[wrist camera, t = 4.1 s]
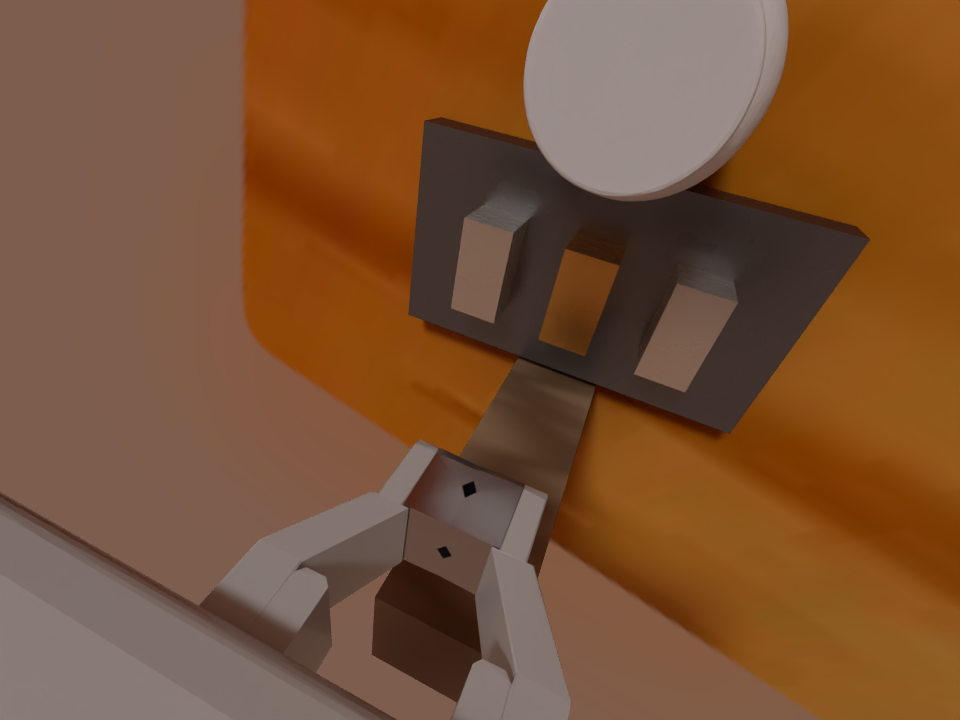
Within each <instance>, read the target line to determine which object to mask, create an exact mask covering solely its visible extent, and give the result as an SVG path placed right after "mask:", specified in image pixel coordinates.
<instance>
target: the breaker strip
mask: <svg viewBox="0 0 960 720" xmlns="http://www.w3.org/2000/svg"><path fill="white" fill-rule="evenodd" d="M869 241H870V239H869V238H868V237H867V236H866V235H865V234H864V233H863V232H862V231H861V230H860V229H859V228H858V227H856V226H852V225H849V224H845V223H841V222H837V221H833V220H830V219H826V218H822V217H818V216H814V215H811V214H807V213H803V212H799V211H795V210H792V209H788V208H784V207H780V206H776V205H773V204H769V203H765V202H761V201H757V200H754V199H750V198H746V197H742V196H738V195H735V194H731V193H727V192H723V191H719V190H716V189H712V188H708V187H704V186H700V185H697V184H696V185H694V186H692V187H690V188H688V189H686V190H683V191H681V192H679V193H676V194H673V195H671V196H667V197H663V198H659V199H654V200H647V201H619V200H613V199H609V198H605V197H601V196H598V195H595V194H593V193H591V192H588V191H586V190H583V189H581V188H579V187H577V186H575V185H573V184H572V183H570V182H569V181H567V180H566V179H565V178H563V177H562V176H561V175H560V174H559V173H558V172H557V171H556V170H555V169H554V168H553V167H552V166H551V165H550V164H549V163H548V162H547V160H546V159H545V157H544V156H543V154H542V153H541V151H540V149H539V148H538V146H537V144H536V142H533V141H529V140H525V139H522V138H518V137H514V136H510V135H506V134H503V133H499V132H495V131H491V130H487V129H484V128H480V127H476V126H472V125H468V124H465V123H461V122H457V121H453V120H449V119H445V118H442V117H440V118H435V119H430V120H425V121H424V132H423V145H422V157H421V169H420V181H419V193H418V205H417V217H416V229H415V241H414V254H413V266H412V278H411V290H410V302H409V314H408V315H411V316H413V317H416V318H419V319H422V320H424V321H427V322H430V323H432V324H435V325H438V326H440V327H443V328H446V329H448V330H451V331H454V332H457V333H459V334H462V335H465V336H467V337H470V338H473V339H475V340H478V341H481V342H484V343H486V344H489V345H492V346H494V347H497V348H500V349H502V350H505V351H508V352H510V353H513V354H516V355H519V356H521V357H524V358H527V359H529V360H532V361H535V362H537V363H540V364H543V365H545V366H548V367H551V368H554V369H556V370H559V371H562V372H564V373H567V374H570V375H572V376H575V377H578V378H580V379H583V380H586V381H589V382H591V383H594V384H597V385H599V386H602V387H605V388H607V389H610V390H613V391H615V392H618V393H621V394H624V395H626V396H629V397H632V398H634V399H637V400H640V401H642V402H645V403H648V404H650V405H653V406H656V407H659V408H661V409H664V410H667V411H669V412H672V413H675V414H677V415H680V416H683V417H685V418H688V419H691V420H694V421H696V422H699V423H702V424H704V425H707V426H710V427H712V428H715V429H718V430H720V431H723V432H726V433H729V434H730V433H731V431H732V430H733V428H734V427H735V426H736V424H737V423H738V422H739V420H740V419H741V417H742V416H743V415H744V413H745V412H746V411H747V409H748V408H749V406H750V405H751V404H752V402H753V401H754V399H755V398H756V397H757V395H758V394H759V393H760V391H761V390H762V388H763V387H764V386H765V384H766V383H767V381H768V380H769V379H770V377H771V376H772V375H773V373H774V372H775V370H776V369H777V368H778V366H779V365H780V364H781V362H782V361H783V359H784V358H785V357H786V355H787V354H788V352H789V351H790V350H791V348H792V347H793V346H794V344H795V343H796V341H797V340H798V339H799V337H800V336H801V334H802V333H803V332H804V330H805V329H806V328H807V326H808V325H809V323H810V322H811V321H812V319H813V318H814V317H815V315H816V314H817V312H818V311H819V310H820V308H821V307H822V305H823V304H824V303H825V301H826V300H827V299H828V297H829V296H830V294H831V293H832V292H833V290H834V289H835V287H836V286H837V285H838V283H839V282H840V281H841V279H842V278H843V276H844V275H845V274H846V272H847V271H848V270H849V268H850V267H851V265H852V264H853V263H854V261H855V260H856V258H857V257H858V256H859V254H860V253H861V252H862V250H863V249H864V247H865V246H866V245H867V243H868V242H869Z"/></svg>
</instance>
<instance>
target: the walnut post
mask: <svg viewBox="0 0 960 720" xmlns="http://www.w3.org/2000/svg"><path fill="white" fill-rule="evenodd" d="M595 387H596V384H594V383H591V382H589V381H586V380H583V379H580V378H578V377H575V376H572V375H570V374H567V373H564V372H562V371H559V370H556V369H554V368H551V367H548V366H545V365H543V364H540V363H537V362H535V361H532V360H529V359H527V358H524V357H521V356H519V358H518V359H517V361H516V363H515V364H514V366H513V368H512V369H511V371H510V373H509V374H508V376H507V378H506V379H505V381H504V383H503V384H502V386H501V388H500V389H499V391H498V393H497V394H496V396H495V398H494V399H493V401H492V403H491V404H490V406H489V408H488V409H487V411H486V413H485V414H484V416H483V418H482V419H481V421H480V423H479V424H478V426H477V428H476V429H475V431H474V433H473V434H472V436H471V438H470V439H469V441H468V443H467V444H466V446H465V448H464V449H463V451H462V453H461V454H460V456H459V457H461V458H463V459H465V460H467V461H469V462H471V463H474V464H476V465H478V466H480V467H485V468H487V469H490V470H492V471H494V472H497V473H499V474H502V475H504V476H507V477H509V478H511V479H514V480H516V481H519V482H521V483H524V484H525V485H527V486H530V487H532V488H534V489H537V490H539V491H541V492H544V493H546V494H548V499H547V502H546V505H545V508H544V511H543V514H542V517H541V521H540V524H539V527H538V530H537V533H536V536H535V539H534V542H533V545H532V549H531V552H530V555H529V558H528V561H527V563H529V564H531V565H533V566H534V568H535V572H536V576H537V579H538V576H539V572H540V569H541V565H542V562H543V559H544V556H545V552H546V549H547V546H548V542H549V539H550V536H551V533H552V529H553V526H554V523H555V519H556V516H557V513H558V509H559V506H560V503H561V499H562V496H563V493H564V490H565V486H566V483H567V480H568V476H569V473H570V470H571V466H572V463H573V460H574V456H575V453H576V450H577V447H578V443H579V440H580V437H581V433H582V430H583V427H584V423H585V420H586V417H587V413H588V410H589V407H590V404H591V400H592V397H593V394H594V390H595ZM525 485H524V486H525ZM523 489H524V488H523ZM522 492H523V491H522ZM475 596H476V595H475V594H473V593H471V592H469V591H467V590H465V589H463V588H462V587H460V586H458V585H456V584H454V583H452V582H450V581H448V580H446V579H444V578H442V577H441V576H439V575H436V574H434V573H432V572H430V571H428V570H426V569H423V568H421V567H419V566H417V565H415V564H412V563H410V562H408V561H406V560H404V559H402V562H401V563H399V564H398V565H396V566H395V567H393V568H392V570H391V571H390V573H389V575H388V576H387V578H386V580H385V581H384V583H383V585H382V586H381V588H380V590H379V591H378V593H377V595H376V596H375V606H374V625H373V643H372V655H374V656H375V657H377V658H379V659H381V660H382V661H384V662H386V663H388V664H390V665H391V666H393V667H395V668H397V669H398V670H400V671H402V672H404V673H406V674H408V675H409V676H411V677H413V678H415V679H416V680H418V681H420V682H422V683H423V684H425V685H427V686H429V687H430V688H432V689H434V690H436V691H438V692H439V693H441V694H443V695H445V696H447V697H449V698H450V699H452V700H454V701H456V702H457V701H458V699H459V696H460V694H461V691H462V689H463V686H464V684H465V682H466V679H467V677H468V674H469V672H470V670H471V667H472V665H473V663H475V662H477V661H479V660H481V659H482V654H481V645H480V636H479V628H478V619H477V610H476V601H475Z"/></svg>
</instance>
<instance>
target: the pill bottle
mask: <svg viewBox="0 0 960 720" xmlns="http://www.w3.org/2000/svg"><path fill="white" fill-rule="evenodd" d="M787 43H788V13H787V5H786V0H548V1H547V3H546V5H545V7H544V8H543V10H542V12H541V14H540V16H539V19H538V21H537V23H536V26H535V28H534V31H533V34H532V36H531V39H530V43H529V47H528V51H527V56H526V62H525V70H524V103H525V109H526V114H527V119H528V123H529V127H530V129H531V132H532V135H533V137H534V140H535V142H536V144H537V146H538V148H539V149H540V151H541V153H542V154H543V156H544V157H545V159H546V160H547V162H548V163H549V164H550V165H551V166H552V167H553V168H554V169H555V170H556V171H557V172H558V173H559V174H560V175H561V176H562V177H563V178H565V179H566V180H567V181H569V182H570V183H572V184H573V185H575V186H577V187H579V188H581V189H583V190H586V191H588V192H591V193H593V194H595V195H598V196H601V197H605V198H609V199H613V200H619V201H647V200H654V199H659V198H663V197H667V196H671V195H673V194H676V193H679V192H681V191H683V190H686V189H688V188H690V187H692V186H694V185H696V184H698V183H699V182H701V181H702V180H704V179H706V178H707V177H709V176H710V175H712V174H713V173H714V172H716V171H717V170H718V169H719V168H721V167H722V166H723V165H724V164H725V163H726V162H727V161H728V160H729V159H731V157H732V156H733V155H734V154H735V153H736V152H737V151H738V150H739V149H740V148H741V147H742V146H743V144H744V143H745V142H746V140H747V139H748V138H749V137H750V135H751V134H752V133H753V131H754V130H755V129H756V127H757V126H758V124H759V123H760V122H761V120H762V118H763V116H764V115H765V113H766V111H767V109H768V107H769V105H770V103H771V101H772V99H773V97H774V94H775V92H776V89H777V87H778V84H779V81H780V78H781V75H782V71H783V68H784V63H785V58H786V53H787Z"/></svg>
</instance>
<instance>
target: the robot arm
mask: <svg viewBox="0 0 960 720" xmlns="http://www.w3.org/2000/svg"><path fill="white" fill-rule="evenodd" d="M524 485H525V484H524V483H521V482H519V481H516V480H514V479H511V478H509V477H507V476H504V475H502V474H499V473H497V472H494V471H492V470H490V469H487V468H485V467H480V466H478V465H476V464H474V463H471V462H469V461H467V460H465V459H463V458H461V457H458V456H456V455H454V454H452V453H450V452H447V451H445V450H443V449H441V448H438V447H436V446H434V445H432V444H429V443H427V442H425V441H423V440H419V441H418V442H416V443H415V444H414V445H413V447H412V448H411V449H410V451H409V452H408V454H407V455H406V456H405V458H404V459H403V460H402V462H401V463H400V465H399V466H398V467H397V469H396V470H395V471H394V473H393V474H392V476H391V477H390V478H389V480H388V481H387V483H386V484H385V485H384V486H383V488H382V489H381V491H380V492H379V493H376V492H373V491H371V492H369V493H366V494H364V495H362V496H359V497H357V498H355V499H353V500H350V501H348V502H345V503H343V504H341V505H338V506H336V507H334V508H331V509H329V510H327V511H325V512H322V513H320V514H318V515H315V516H313V517H311V518H308V519H306V520H304V521H301V522H299V523H297V524H294V525H292V526H290V527H287V528H285V529H283V530H280V531H279V532H276V533H274V534H271V535H269V536H267V537H264V538H262V539H260V540H258V542H257V543H256V544H255V545H254V546H253V547H252V548H251V549H250V551H248V553H247V554H246V555H245V556H244V557H243V558H242V559H241V560H240V561H239V562H238V563H237V565H236V566H235V567H234V568H233V569H232V570H231V571H230V572H229V573H228V574H227V576H226V577H225V578H224V579H223V580H222V581H221V582H220V583H219V584H218V585H217V586H216V587H215V588H214V590H213V591H212V592H211V593H210V594H209V595H208V596H207V597H206V598H205V599H204V601H203V602H202V603H201V604H200V605H199V606H198V605H196V604H195V603H193V602H191V601H189V600H188V599H186V598H184V597H182V596H181V595H179V594H177V593H175V592H174V591H172V590H170V589H168V588H167V587H165V586H163V585H162V584H160V583H158V582H156V581H155V580H153V579H151V578H149V577H148V576H146V575H144V574H142V573H141V572H139V571H137V570H135V569H134V568H132V567H130V566H128V565H127V564H125V563H123V562H122V561H120V560H118V559H116V558H114V557H113V556H111V555H109V554H108V553H106V552H104V551H102V550H100V549H99V548H97V547H95V546H93V545H92V544H90V543H88V542H87V541H85V540H83V539H81V538H80V537H78V536H76V535H75V534H73V533H71V532H69V531H68V530H66V529H64V528H62V527H60V526H59V525H57V524H55V523H54V522H52V521H50V520H48V519H47V518H45V517H43V516H41V515H40V514H38V513H36V512H34V511H33V510H31V509H29V508H28V507H26V506H24V505H22V504H21V503H19V502H17V501H15V500H13V499H12V498H10V497H8V496H7V495H5V494H3V493H1V492H0V720H397V719H395V718H393V717H391V716H389V715H388V714H386V713H384V712H383V711H381V710H379V709H377V708H376V707H374V706H372V705H370V704H369V703H367V702H365V701H364V700H362V699H360V698H358V697H357V696H355V695H353V694H351V693H350V692H348V691H346V690H344V689H343V688H341V687H339V686H337V685H336V684H334V683H332V682H330V681H329V680H327V679H325V678H323V677H322V676H320V675H318V674H317V673H316V672H317V670H318V668H319V666H320V665H321V663H322V662H323V660H324V658H325V656H326V655H327V653H328V651H329V650H330V648H331V646H332V639H331V622H330V608H331V607H333V606H334V605H336V604H337V603H339V602H340V601H342V600H343V599H345V598H347V597H348V596H350V595H351V594H353V593H354V592H355V591H357V590H359V589H360V588H362V587H363V586H365V585H367V584H368V583H369V582H371V581H373V580H374V579H376V578H377V577H379V576H380V575H382V574H384V573H385V572H387V571H388V570H390V569H391V568H393V567H395V566H396V565H398V564H399V563H401V562H402V559H404V560H406V561H408V562H410V563H412V564H415V565H417V566H419V567H421V568H423V569H426V570H428V571H430V572H432V573H434V574H436V575H439V576H441V577H442V578H444V579H446V580H448V581H450V582H452V583H454V584H456V585H458V586H460V587H462V588H463V589H465V590H467V591H469V592H471V593H473V594H475V595H476V596H475V601H476V610H477V619H478V628H479V636H480V645H481V654H482V659H481V660H479V661H477V662H475V663H473V665H472V667H471V670H470V672H469V674H468V677H467V679H466V682H465V684H464V686H463V689H462V691H461V694H460V696H459V699H458V701H457V703H456V706H455V708H454V711H453V713H452V716H451V719H450V720H568V717H569V712H570V706H571V701H570V697H569V693H568V690H567V686H566V682H565V679H564V675H563V671H562V667H561V664H560V660H559V656H558V653H557V649H556V645H555V642H554V638H553V635H552V631H551V627H550V623H549V620H548V616H547V613H546V609H545V605H544V602H543V598H542V594H541V591H540V587H539V583H538V579H537V576H536V572H535V568H534V566H533V565H531V564H529V563H527V561H528V558H529V555H530V552H531V549H532V545H533V542H534V539H535V536H536V533H537V530H538V527H539V524H540V521H541V517H542V514H543V511H544V508H545V505H546V502H547V499H548V494H546V493H544V492H541V491H539V490H537V489H534V488H532V487H530V486H527V485H525V486H524ZM523 488H524V489H523ZM522 491H523V492H522Z"/></svg>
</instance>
